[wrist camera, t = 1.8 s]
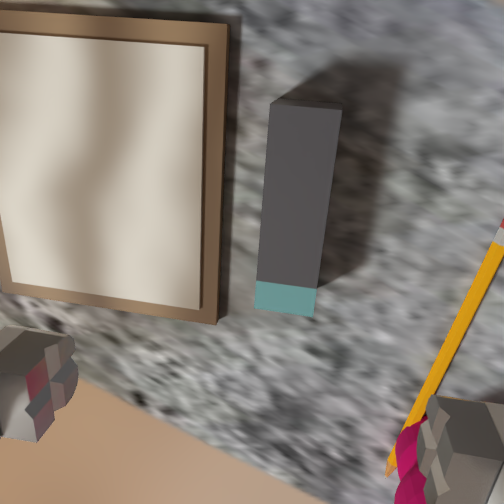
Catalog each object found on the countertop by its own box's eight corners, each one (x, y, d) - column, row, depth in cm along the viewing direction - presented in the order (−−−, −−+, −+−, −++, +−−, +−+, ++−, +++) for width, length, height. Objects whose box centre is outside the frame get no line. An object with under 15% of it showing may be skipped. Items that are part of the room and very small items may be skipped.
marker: (341, 103, 21) (342, 110, 18) (315, 289, 25) (312, 316, 22) (278, 98, 21) (270, 103, 19) (262, 281, 25) (254, 308, 23)
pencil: (519, 216, 22) (525, 220, 21) (390, 476, 30) (391, 485, 29) (503, 212, 22) (507, 216, 21) (378, 473, 30) (379, 481, 29)
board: (230, 24, 20) (226, 23, 20) (218, 319, 27) (215, 327, 26) (-43, 7, 22) (-56, 6, 21) (8, 287, 29) (0, 293, 28)
